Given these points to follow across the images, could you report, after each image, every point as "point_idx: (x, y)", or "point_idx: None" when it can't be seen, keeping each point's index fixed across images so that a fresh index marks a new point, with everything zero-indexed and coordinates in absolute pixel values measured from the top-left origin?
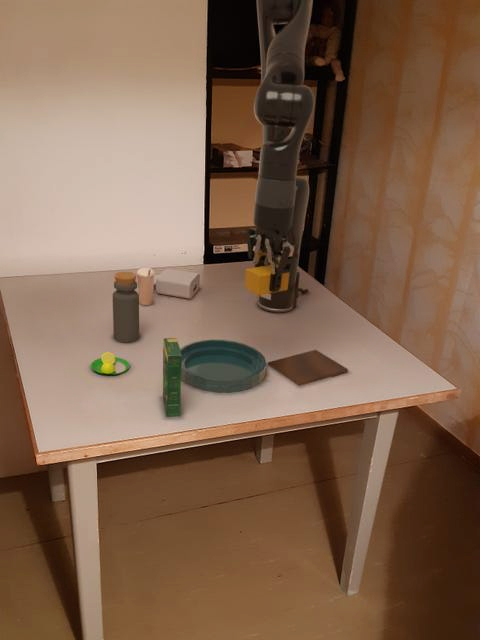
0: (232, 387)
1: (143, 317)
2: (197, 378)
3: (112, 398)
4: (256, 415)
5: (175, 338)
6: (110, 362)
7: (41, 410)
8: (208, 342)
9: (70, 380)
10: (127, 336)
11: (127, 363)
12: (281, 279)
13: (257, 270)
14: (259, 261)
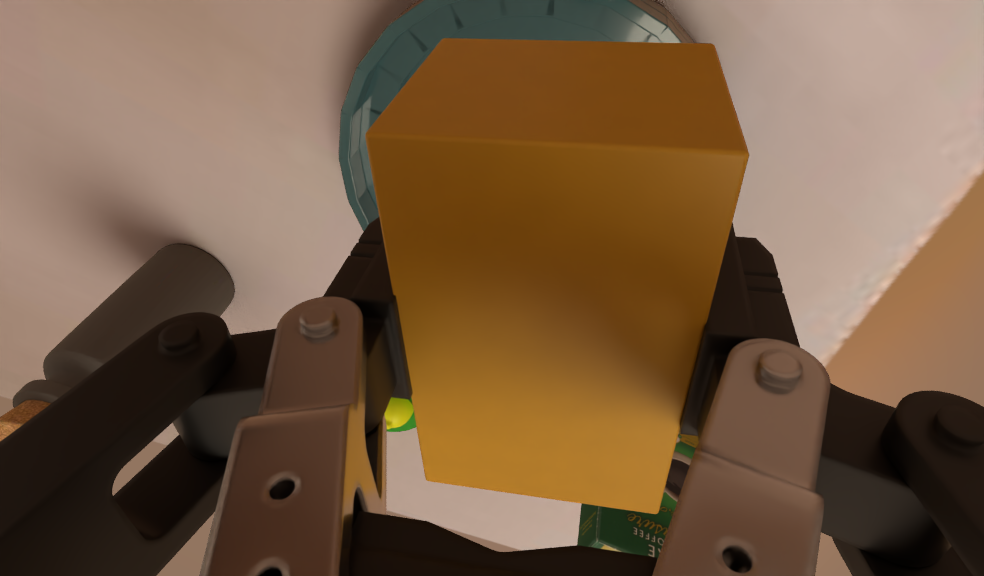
0: None
1: (26, 152)
2: None
3: None
4: (885, 246)
5: (600, 547)
6: None
7: (508, 538)
8: (353, 132)
9: (410, 466)
10: (223, 307)
11: None
12: (788, 315)
13: (505, 444)
14: (379, 418)
